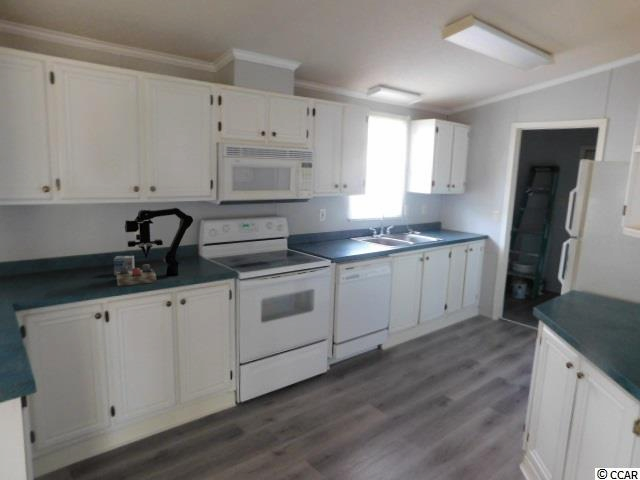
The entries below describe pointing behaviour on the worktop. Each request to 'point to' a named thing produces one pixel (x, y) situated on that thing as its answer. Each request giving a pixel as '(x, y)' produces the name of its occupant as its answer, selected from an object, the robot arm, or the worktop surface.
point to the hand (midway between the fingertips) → (145, 257)
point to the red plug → (136, 272)
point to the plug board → (135, 278)
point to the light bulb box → (123, 263)
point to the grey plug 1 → (123, 270)
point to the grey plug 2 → (146, 268)
